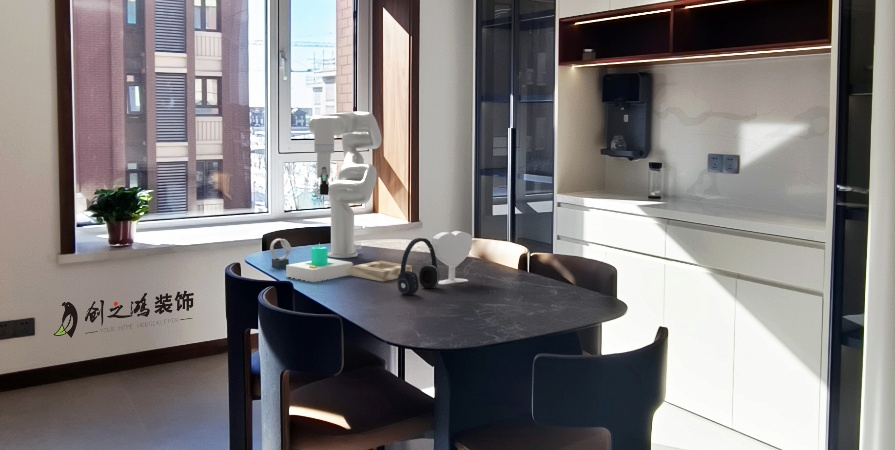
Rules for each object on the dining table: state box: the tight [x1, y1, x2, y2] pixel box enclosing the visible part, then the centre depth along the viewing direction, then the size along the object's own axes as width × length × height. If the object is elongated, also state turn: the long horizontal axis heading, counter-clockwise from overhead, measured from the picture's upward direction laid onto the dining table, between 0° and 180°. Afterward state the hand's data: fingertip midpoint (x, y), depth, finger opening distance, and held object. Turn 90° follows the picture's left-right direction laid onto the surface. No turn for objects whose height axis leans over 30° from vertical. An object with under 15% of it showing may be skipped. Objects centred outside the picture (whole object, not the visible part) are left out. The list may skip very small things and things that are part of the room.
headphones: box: [397, 237, 440, 296], centre depth 296 cm, size 20×7×18 cm, turn 149°
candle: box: [310, 243, 329, 267], centre depth 320 cm, size 6×6×12 cm
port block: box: [285, 258, 354, 283], centre depth 320 cm, size 20×14×5 cm
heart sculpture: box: [431, 230, 473, 285], centre depth 313 cm, size 16×5×18 cm, turn 127°
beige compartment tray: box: [350, 260, 413, 282], centre depth 323 cm, size 16×16×4 cm
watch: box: [269, 238, 292, 269], centre depth 336 cm, size 6×8×11 cm
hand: (324, 193), depth 338 cm, fingers open, 9 cm apart
